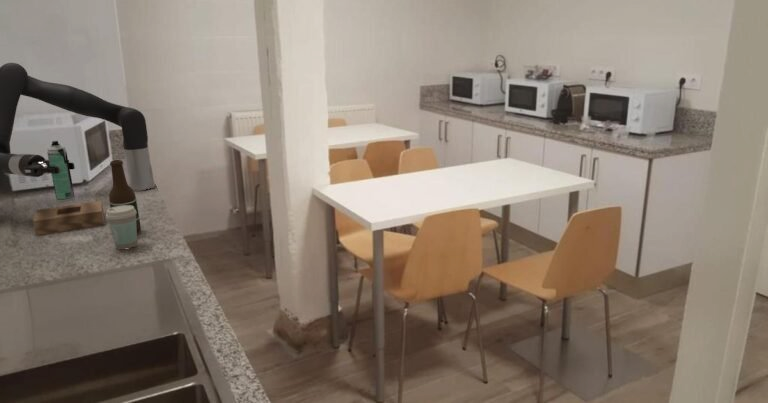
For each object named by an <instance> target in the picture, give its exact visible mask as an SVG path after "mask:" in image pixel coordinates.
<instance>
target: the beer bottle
mask: <svg viewBox="0 0 768 403" xmlns="http://www.w3.org/2000/svg"><path fill="white" fill-rule="evenodd" d="M109 165H110V167H111V168H110V169H111V177H112V187H111V190H110V191H109V194H108V198H109V199H108V201H109V206H110V207H109V208H112V207H116V206H121V205H131V206H134V208H135V210H136V212H137V214H136V226H137V233H138V232H139V231H140V230H141V231H142V229H141V228H142V227H141V226H142V225H141V220H140V215H139V214H140V213H139V209H138V203H137V196H136V194H135V191H133V190H132V188H131V187H130V184H128V181H127V179H126V174H125V169H124V166H123V165H124V162H123V160H121V159H116V160H115V159H114V160H111V161H110V162H109ZM141 231H140V232H141ZM140 232H139V233H140ZM139 233H138V234H139Z"/></svg>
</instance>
